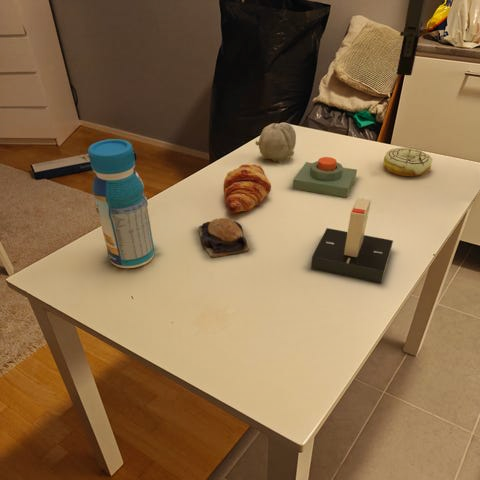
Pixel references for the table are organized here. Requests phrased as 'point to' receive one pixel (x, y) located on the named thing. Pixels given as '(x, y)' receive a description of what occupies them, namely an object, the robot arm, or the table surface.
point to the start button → (327, 164)
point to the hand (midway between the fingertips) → (404, 73)
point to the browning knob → (357, 227)
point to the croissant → (245, 187)
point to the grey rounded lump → (277, 142)
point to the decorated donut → (407, 162)
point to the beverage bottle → (121, 203)
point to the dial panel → (362, 267)
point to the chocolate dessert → (223, 237)
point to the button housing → (325, 180)
